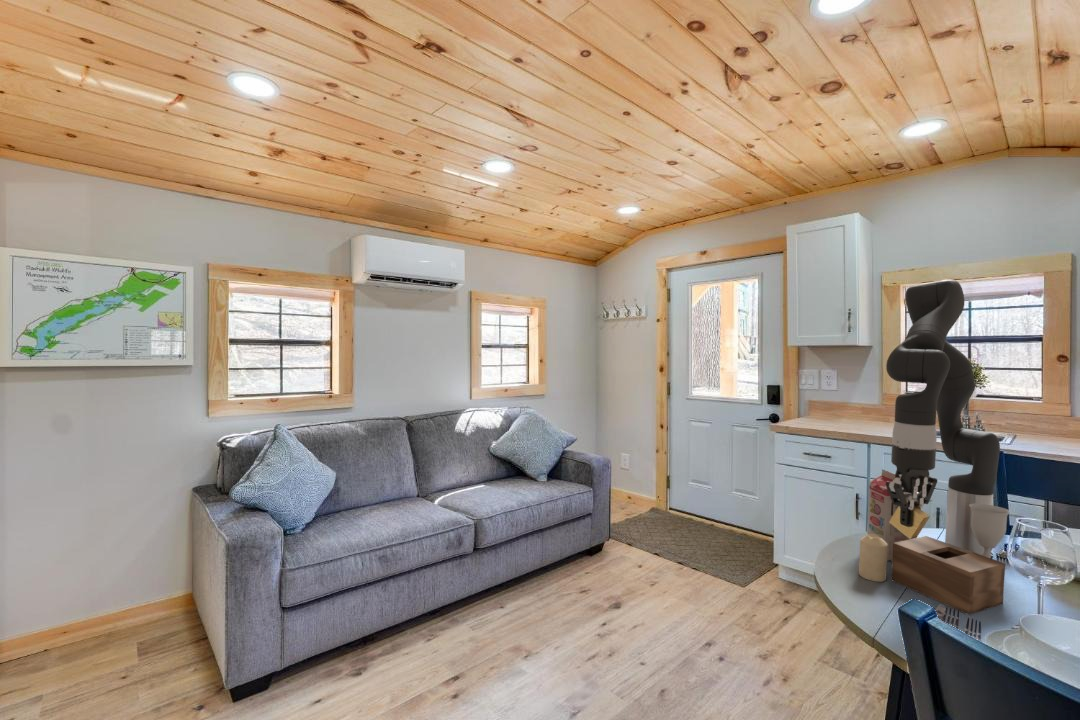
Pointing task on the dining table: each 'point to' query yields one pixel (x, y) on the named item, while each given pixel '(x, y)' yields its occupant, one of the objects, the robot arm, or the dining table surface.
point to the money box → (949, 574)
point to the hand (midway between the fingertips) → (909, 524)
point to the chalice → (988, 525)
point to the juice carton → (883, 512)
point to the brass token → (917, 523)
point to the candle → (873, 558)
